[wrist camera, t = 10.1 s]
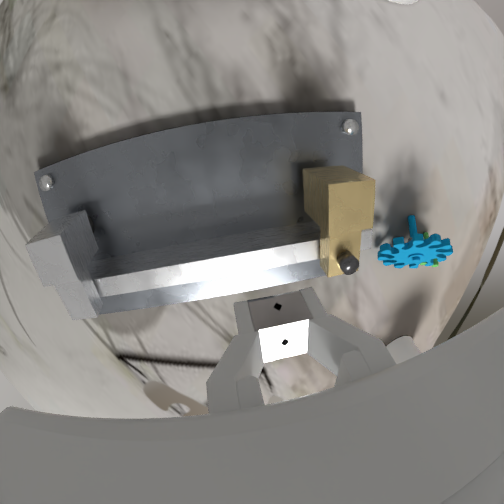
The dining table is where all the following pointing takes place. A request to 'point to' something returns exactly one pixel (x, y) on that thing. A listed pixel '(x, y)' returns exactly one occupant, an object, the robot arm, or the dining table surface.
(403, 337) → the mug
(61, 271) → the trammel bar
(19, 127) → the dining table surface
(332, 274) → the block
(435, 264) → the gear
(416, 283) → the dining table surface
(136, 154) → the bolt plate
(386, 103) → the dining table surface
